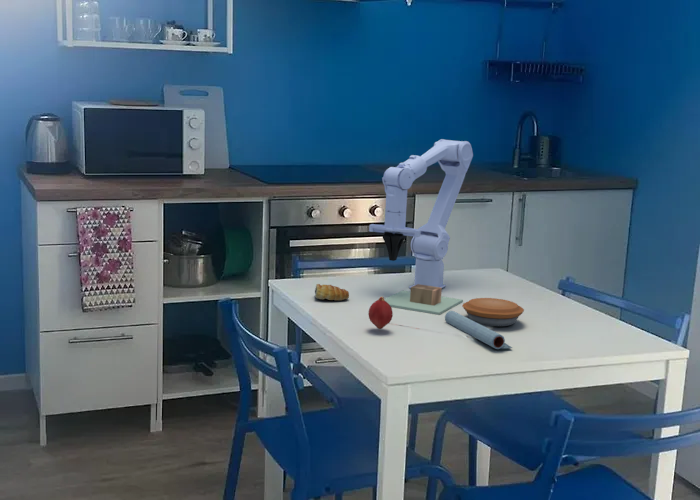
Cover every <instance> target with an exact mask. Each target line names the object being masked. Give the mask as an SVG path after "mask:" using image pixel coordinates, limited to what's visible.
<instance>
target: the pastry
mask: <svg viewBox="0 0 700 500" xmlns="http://www.w3.org/2000/svg"><path fill="white" fill-rule="evenodd" d="M314 297H315V298H316V299H318V300H325V299H326V300H329V301H333V300H334V302H335V301H343V300H348V299H349V297H350V292H349V291H348V290H346V289H345V288H340V287H339V286H334V285H332V284H321V283H317V284H316V285H315V289H314Z"/></svg>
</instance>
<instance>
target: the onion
mask: <svg viewBox="0 0 700 500" xmlns="http://www.w3.org/2000/svg"><path fill="white" fill-rule="evenodd" d="M384 299H385V298H384V296H380V297H379V298H378V299H377V300H376V301H374V302H373V303H371V305H370V307H369V309H368V312H367V313H368V314H367V315H368V319H369V321H370V323H372V324H373V325H374V326H375V327H376V328H377V329H379V330H381V329H384V328H385V327H386V326H387V325H389V323H390V322H391V321H392V320H393V315H394V313H393V309H392V308H393V307H391V306H390V305H389V304H388V303H387V302H386V301H385V300H384Z"/></svg>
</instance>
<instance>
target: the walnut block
mask: <svg viewBox="0 0 700 500" xmlns="http://www.w3.org/2000/svg"><path fill="white" fill-rule="evenodd" d="M442 289H443V288H441V287H434V286H427V285H420V284H417V285H415V286H413V287H411V288H410V291H409V292H410V302H415V303H421V304H427V305H436V304H438V303H440V302H441V296H442V292H443V291H442Z"/></svg>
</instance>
